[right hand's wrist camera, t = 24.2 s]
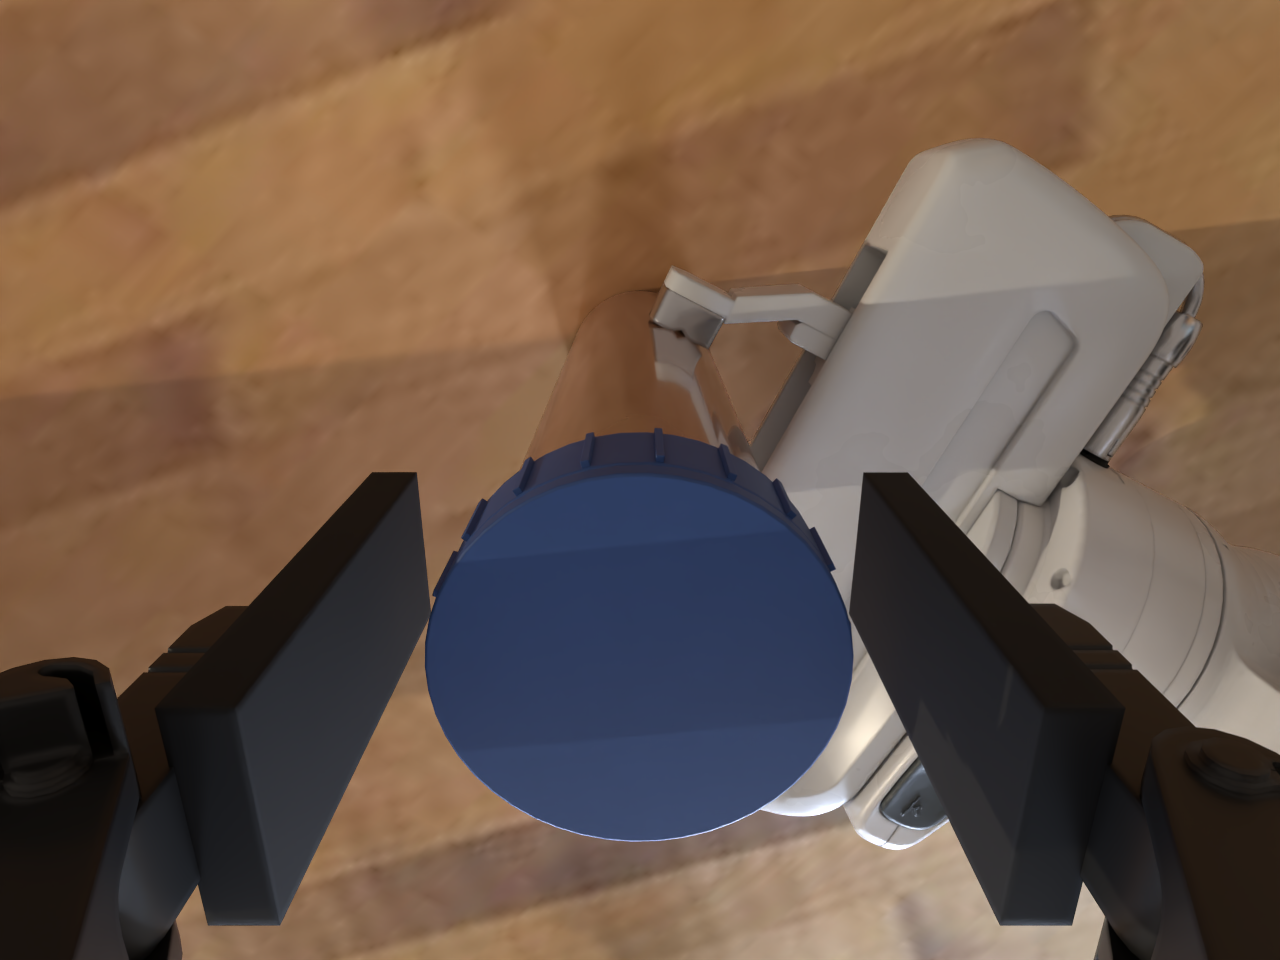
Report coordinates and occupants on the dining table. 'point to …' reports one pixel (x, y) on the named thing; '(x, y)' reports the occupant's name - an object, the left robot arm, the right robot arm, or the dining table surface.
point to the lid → (639, 639)
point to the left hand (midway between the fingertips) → (610, 392)
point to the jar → (637, 384)
